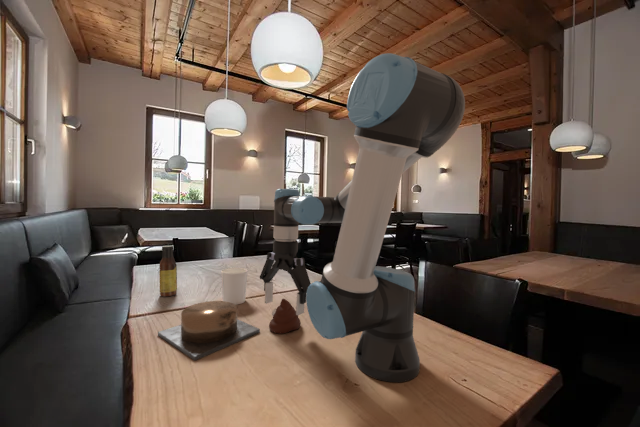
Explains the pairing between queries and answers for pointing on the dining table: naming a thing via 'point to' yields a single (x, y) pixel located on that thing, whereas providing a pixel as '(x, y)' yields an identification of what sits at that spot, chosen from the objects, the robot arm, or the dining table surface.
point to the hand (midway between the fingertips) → (283, 307)
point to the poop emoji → (284, 318)
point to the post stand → (207, 329)
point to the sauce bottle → (168, 273)
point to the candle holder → (234, 285)
